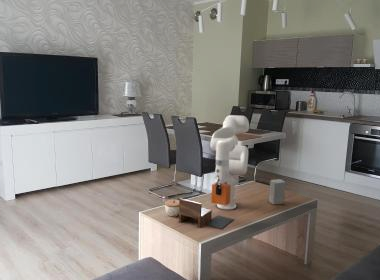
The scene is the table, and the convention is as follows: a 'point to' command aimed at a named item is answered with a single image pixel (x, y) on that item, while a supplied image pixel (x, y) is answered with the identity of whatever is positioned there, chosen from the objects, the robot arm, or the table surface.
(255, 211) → the table surface
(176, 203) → the trinket box
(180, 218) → the wooden toy chair
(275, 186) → the cosmetic box
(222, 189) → the block
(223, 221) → the mat
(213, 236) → the table surface
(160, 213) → the table surface
